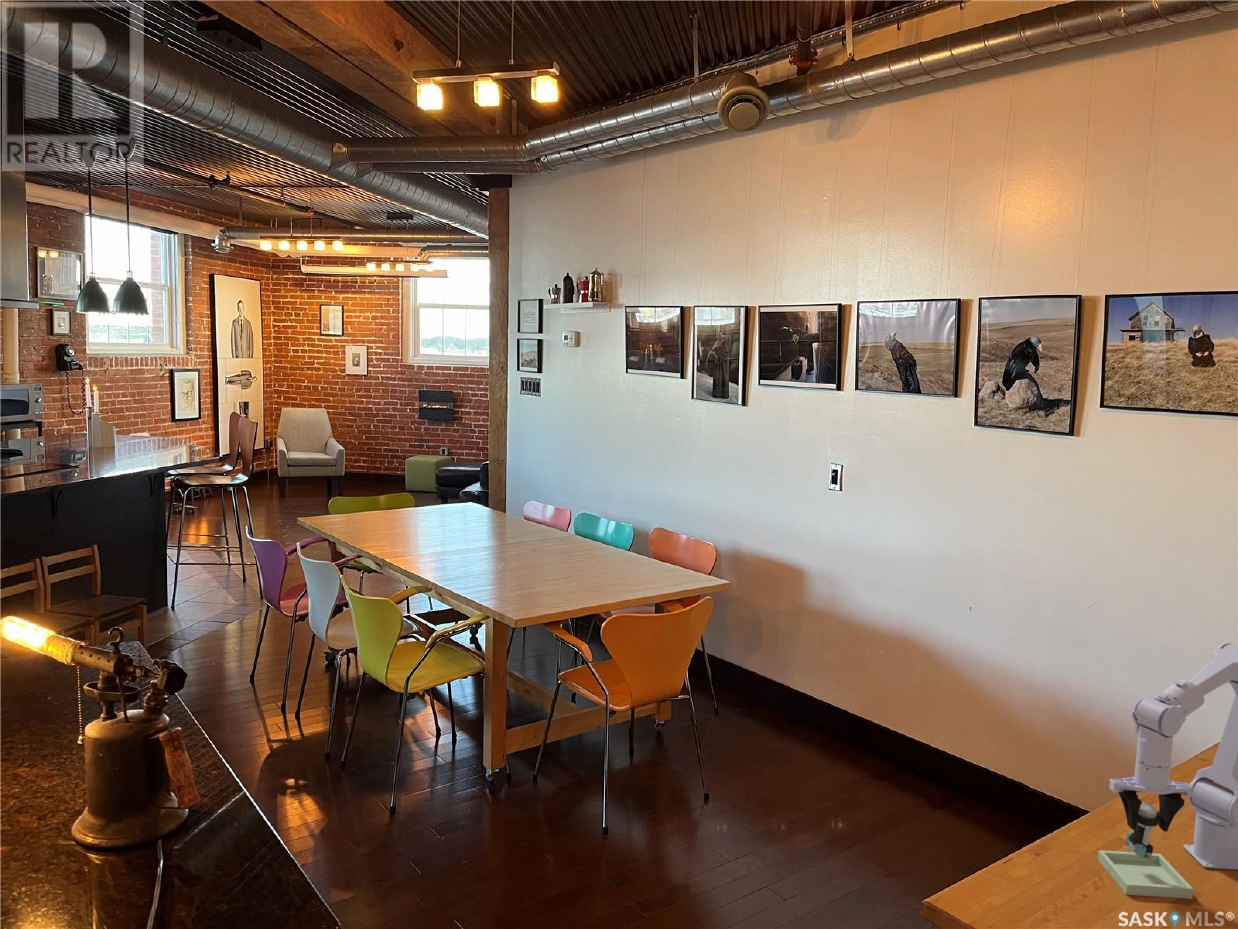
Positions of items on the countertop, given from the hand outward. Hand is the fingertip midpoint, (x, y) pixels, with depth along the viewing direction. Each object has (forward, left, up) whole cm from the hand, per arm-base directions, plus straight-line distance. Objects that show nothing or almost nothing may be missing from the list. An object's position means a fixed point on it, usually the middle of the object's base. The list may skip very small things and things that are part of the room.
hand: (1147, 828), depth 173 cm
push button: (0, -2, -6) cm, 7 cm away
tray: (0, 0, -10) cm, 10 cm away
